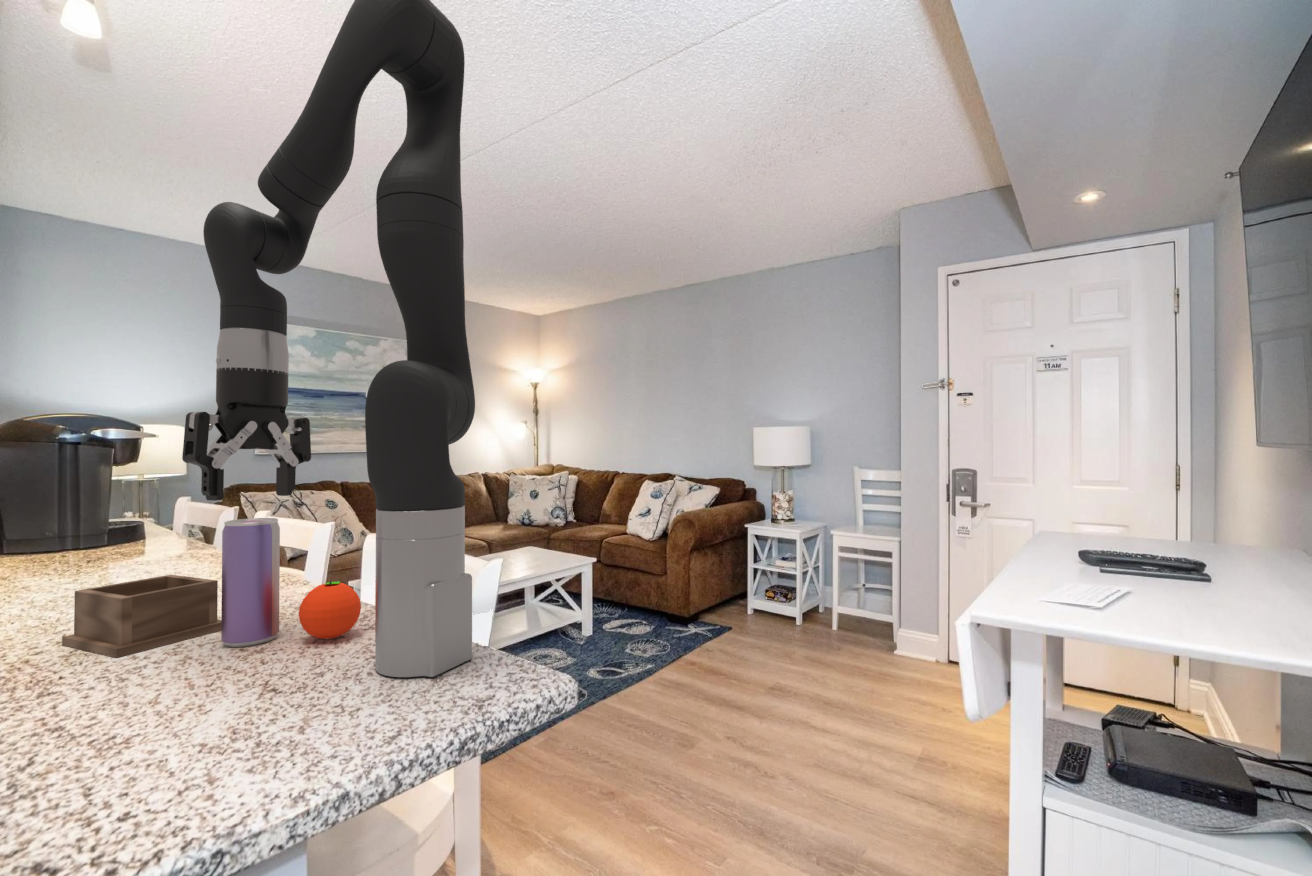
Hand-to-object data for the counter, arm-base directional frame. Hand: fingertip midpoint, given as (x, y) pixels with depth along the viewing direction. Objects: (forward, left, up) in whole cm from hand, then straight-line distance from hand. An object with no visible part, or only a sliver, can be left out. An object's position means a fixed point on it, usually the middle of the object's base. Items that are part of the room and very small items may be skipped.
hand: (251, 497), depth 74 cm
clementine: (-8, -5, -18) cm, 20 cm away
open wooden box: (+14, +4, -18) cm, 23 cm away
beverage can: (0, 0, -18) cm, 18 cm away
